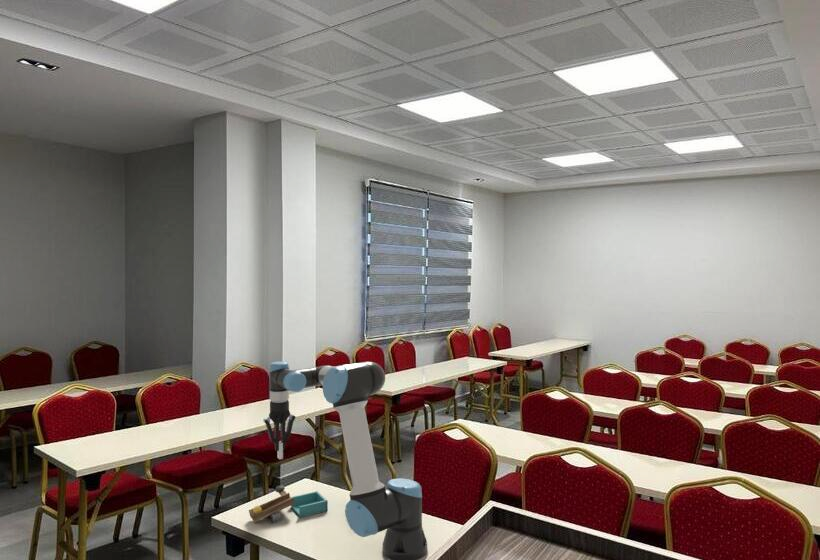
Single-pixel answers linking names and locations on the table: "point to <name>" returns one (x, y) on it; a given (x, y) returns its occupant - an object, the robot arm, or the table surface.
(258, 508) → the ball
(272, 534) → the table surface
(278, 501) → the lever
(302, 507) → the tray
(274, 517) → the stand
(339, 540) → the table surface
